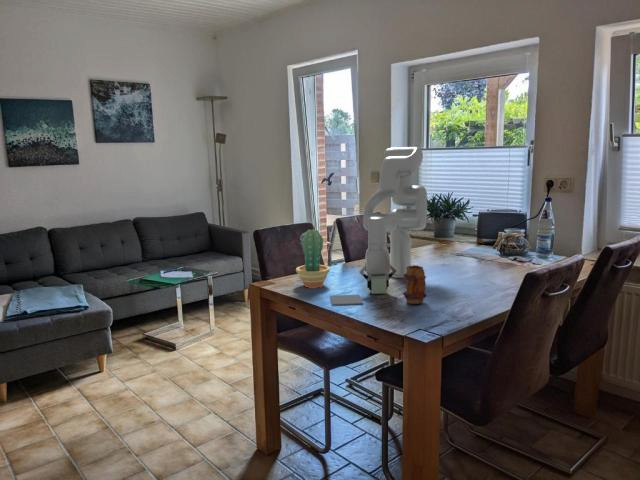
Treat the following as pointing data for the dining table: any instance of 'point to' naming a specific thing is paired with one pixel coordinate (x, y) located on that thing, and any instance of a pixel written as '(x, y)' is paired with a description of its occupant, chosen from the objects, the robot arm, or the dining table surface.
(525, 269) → the dining table surface
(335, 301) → the slate coaster
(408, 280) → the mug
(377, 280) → the tea tin
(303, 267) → the potted cactus
